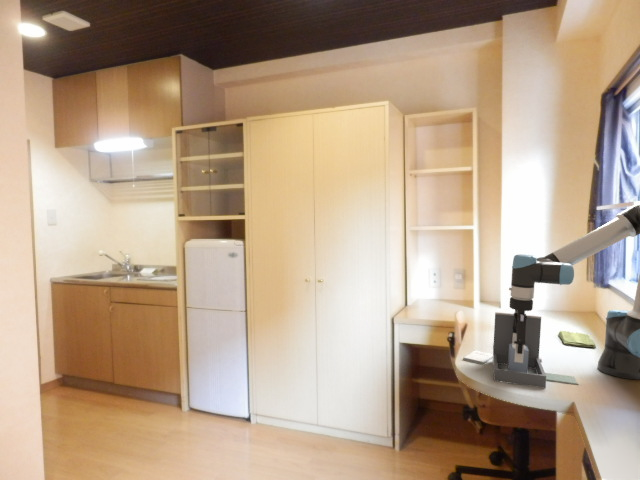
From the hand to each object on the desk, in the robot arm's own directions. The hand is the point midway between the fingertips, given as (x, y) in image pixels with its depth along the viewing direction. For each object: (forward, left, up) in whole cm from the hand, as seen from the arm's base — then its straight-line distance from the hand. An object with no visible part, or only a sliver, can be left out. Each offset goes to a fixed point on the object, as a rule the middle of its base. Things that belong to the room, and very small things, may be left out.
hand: (517, 356), depth 162 cm
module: (0, 0, -7) cm, 7 cm away
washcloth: (-29, -55, -7) cm, 63 cm away
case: (0, 0, -7) cm, 7 cm away
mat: (-14, -1, -7) cm, 16 cm away
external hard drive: (+13, -13, -7) cm, 20 cm away
